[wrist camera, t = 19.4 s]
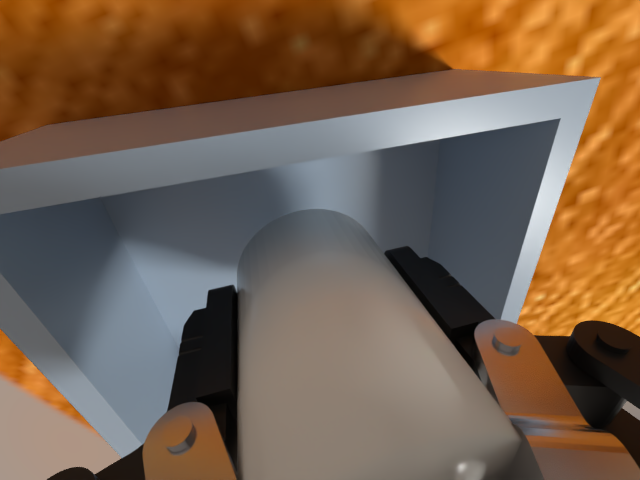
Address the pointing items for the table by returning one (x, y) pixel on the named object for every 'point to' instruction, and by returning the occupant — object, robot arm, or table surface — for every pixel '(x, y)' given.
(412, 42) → the table surface
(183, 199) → the tote
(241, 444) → the white rounded cylinder
